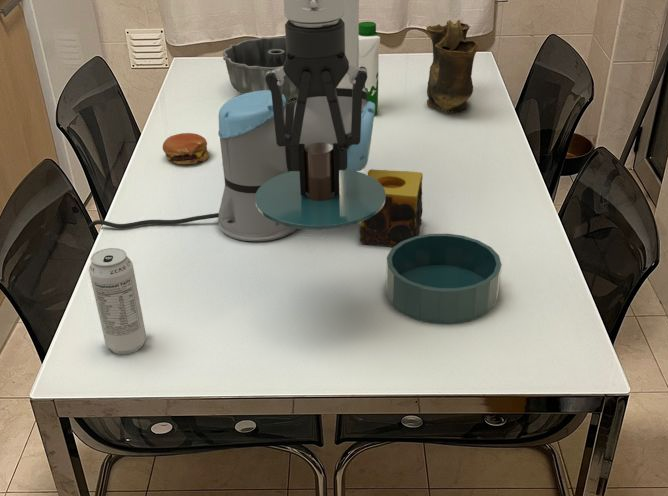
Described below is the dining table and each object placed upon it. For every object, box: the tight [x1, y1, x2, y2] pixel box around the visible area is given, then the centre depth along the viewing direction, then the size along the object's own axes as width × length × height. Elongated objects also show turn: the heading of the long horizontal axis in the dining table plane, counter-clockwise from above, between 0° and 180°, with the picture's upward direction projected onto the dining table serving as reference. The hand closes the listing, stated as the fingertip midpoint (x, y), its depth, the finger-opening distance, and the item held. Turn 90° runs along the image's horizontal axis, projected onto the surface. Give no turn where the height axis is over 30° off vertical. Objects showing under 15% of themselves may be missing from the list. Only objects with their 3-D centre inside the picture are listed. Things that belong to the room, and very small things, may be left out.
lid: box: [255, 142, 386, 230], centre depth 117 cm, size 19×19×8 cm
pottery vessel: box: [425, 19, 479, 115], centre depth 194 cm, size 25×11×20 cm, turn 0°
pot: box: [385, 233, 503, 325], centre depth 132 cm, size 18×18×6 cm
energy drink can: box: [88, 247, 147, 355], centre depth 120 cm, size 6×6×15 cm
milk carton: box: [358, 21, 381, 116], centre depth 192 cm, size 9×9×20 cm
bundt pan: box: [222, 36, 298, 102], centre depth 208 cm, size 26×26×10 cm
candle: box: [359, 169, 424, 247], centre depth 147 cm, size 10×10×10 cm
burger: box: [162, 132, 210, 165], centre depth 177 cm, size 10×9×5 cm
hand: (320, 190), depth 118 cm, fingers closed on lid, 4 cm apart
